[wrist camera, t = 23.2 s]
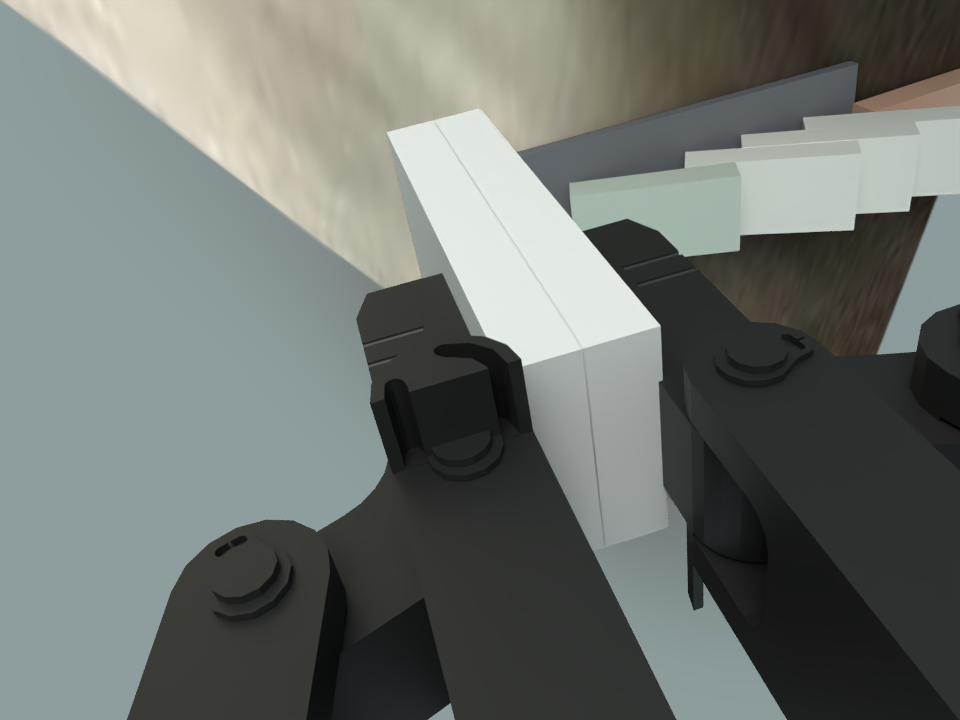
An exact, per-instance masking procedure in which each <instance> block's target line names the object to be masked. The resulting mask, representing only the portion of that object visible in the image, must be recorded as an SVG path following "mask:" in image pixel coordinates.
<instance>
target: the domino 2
mask: <svg viewBox="0 0 960 720" xmlns="http://www.w3.org/2000/svg"><path fill="white" fill-rule="evenodd" d="M861 161H862V151H861V148H860V146H859V143H858V140H847V141H833V142H819V143H805V144H791V145H777V146H763V147H749V148H735V149H720V150H706V151H692V152H685V168H692V167H700V166H707V165H715V164H723V163H731V162H735V163H736V165H737V168H738V170H739V172H740V174H741V208H740V235H753V234H776V233H799V232H822V231H845V230H854V224H855V215H856V206H857V197H858V188H859V179H860V170H861Z"/></svg>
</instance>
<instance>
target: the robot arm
mask: <svg viewBox="0 0 960 720" xmlns="http://www.w3.org/2000/svg"><path fill="white" fill-rule="evenodd" d="M386 133H387V137H388V141H389V145H390V149H391V153H392V157H393V162H394V166H395V170H396V174H397V178H398V182H399V186H400V190H401V195H402V199H403V203H404V207H405V211H406V215H407V219H408V224H409V228H410V232H411V236H412V240H413V244H414V248H415V252H416V257H417V261H418V265H419V269H420V273H421V277H422V279H418V280H415V281H411V282H408V283H404V284H400V285H397V286H393V287H390V288H386V289H382V290H379V291H375V292H372V293H368V294H367V295H366V297H365V300H364V302H363V304H362V307H361V309H360V311H359V314H358V316H357V319H356V320H357V324H358V328H359V332H360V335H361V340H362V344H363V347H364V351H365V355H366V359H367V363H368V367H369V371H370V375H371V379H372V385H371V398H370V405H371V408H372V411H373V414H374V417H375V420H376V424H377V427H378V430H379V433H380V436H381V439H382V442H383V445H384V449H385V452H386V455H387V458H388V462H387V466H386V470H385V473H384V475H383V477H382V478H381V480H380V482H379V483H378V485H377V486H376V488H375V489H374V490H373V491H372V492H371V494H370V495H369V496H368V497H367V498H366V499H365V500H364V501H363V502H362V503H361V504H360V505H358V506H357V507H356V508H354V509H353V510H351V511H350V512H349V513H347V514H346V515H345V516H343V517H341V518H340V519H338V520H336V521H334V522H333V523H331V524H330V525H328V526H326V527H325V528H323V529H321V530H319V531H318V532H316V531H315V530H313V529H311V528H309V527H306V526H304V525H302V524H299V523H297V522H295V521H289V520H263V521H260V522H257V523H253V524H249V525H246V526H242V527H238V528H236V529H234V530H232V531H230V532H228V533H227V534H225V535H223V536H221V537H220V538H218V539H216V540H214V541H213V542H211V543H210V544H208V545H207V546H206V547H205V548H204V549H203V550H202V551H201V552H200V553H199V554H198V555H197V556H196V557H195V558H193V560H191V561H190V562H189V563H188V564H187V565H186V566H185V568H184V570H183V572H182V574H181V575H180V577H179V579H178V581H177V583H176V585H175V586H174V588H173V590H172V591H171V594H170V597H169V600H168V603H167V606H166V609H165V611H164V614H163V617H162V620H161V623H160V626H159V629H158V632H157V635H156V638H155V640H154V643H153V646H152V649H151V652H150V655H149V658H148V661H147V664H146V666H145V670H144V672H143V675H142V678H141V681H140V684H139V687H138V689H137V692H136V695H135V698H134V702H133V704H132V707H131V710H130V713H129V715H128V719H127V720H428V719H429V718H430V717H432V716H433V715H435V714H436V713H437V712H439V711H440V710H441V709H443V708H444V707H445V706H447V705H448V704H450V703H451V706H452V710H453V714H454V718H455V720H676V718H675V716H674V715H673V712H672V710H671V708H670V706H669V704H668V702H667V700H666V698H665V696H664V694H663V692H662V690H661V688H660V686H659V684H658V682H657V680H656V678H655V676H654V674H653V672H652V670H651V668H650V666H649V664H648V662H647V660H646V658H645V656H644V654H643V651H642V650H641V647H640V645H639V644H638V641H637V639H636V637H635V635H634V634H633V631H632V629H631V627H630V625H629V623H628V621H627V619H626V617H625V615H624V613H623V611H622V609H621V607H620V605H619V603H618V601H617V599H616V597H615V595H614V593H613V591H612V589H611V587H610V585H609V583H608V581H607V579H606V577H605V575H604V573H603V571H602V569H601V567H600V565H599V563H598V561H597V559H596V557H595V554H594V553H593V552H594V551H596V550H600V549H603V548H606V547H609V546H612V545H615V544H618V543H621V542H624V541H627V540H631V539H634V538H637V537H640V536H643V535H646V534H649V533H652V532H656V531H659V530H662V529H665V528H668V527H669V523H668V497H667V492H668V494H669V495H670V497H671V499H672V500H673V502H674V503H675V505H676V506H677V508H678V509H679V511H680V513H681V514H682V516H683V517H684V519H685V520H686V522H687V561H688V562H687V564H688V594H689V597H690V600H691V603H692V606H693V609H694V610H696V609H699V608H702V607H703V582H704V584H705V586H706V587H707V589H708V591H709V592H710V594H711V596H712V597H713V599H714V600H715V602H716V604H717V605H718V607H719V609H720V610H721V612H722V613H723V615H724V616H725V619H726V620H727V622H728V623H729V625H730V627H731V628H732V630H733V632H734V633H735V635H736V637H737V638H738V640H739V642H740V643H741V645H742V646H743V648H744V649H745V651H746V653H747V655H748V656H749V658H750V660H751V661H752V663H753V665H754V666H755V668H756V669H757V671H758V673H759V674H760V676H761V678H762V679H763V681H764V683H765V684H766V686H767V687H768V689H769V691H770V692H771V694H772V696H773V697H774V699H775V701H776V702H777V704H778V706H779V707H780V709H781V711H782V712H783V714H784V715H785V717H786V719H787V720H960V304H959V305H956V306H953V307H951V308H947V309H944V310H942V311H939V312H936V313H935V314H933V315H932V316H931V317H930V318H929V319H928V320H927V321H925V322H924V323H923V324H922V325H921V330H920V336H919V341H918V346H917V351H916V352H910V353H895V354H881V355H867V356H834V355H833V354H832V353H831V352H830V351H829V350H827V349H826V348H825V347H824V346H823V345H822V344H821V343H819V342H818V341H816V340H815V339H813V338H811V337H810V336H808V335H807V334H805V333H803V332H802V331H800V330H796V329H793V328H789V327H786V326H782V325H779V324H775V323H758V322H750V321H749V320H748V319H747V318H746V317H745V316H744V315H743V314H742V313H741V312H740V311H739V310H738V309H737V308H736V307H735V306H734V305H733V304H732V303H731V302H730V301H729V300H728V299H727V298H726V297H725V296H724V295H723V294H722V293H721V292H720V291H719V290H718V289H717V288H716V287H715V286H714V285H713V284H712V283H711V282H710V281H709V280H708V279H707V278H706V277H705V276H704V275H703V274H702V273H701V272H700V271H699V270H698V271H695V268H694V266H693V265H692V264H691V263H690V262H689V261H688V260H687V259H686V258H685V257H684V256H683V255H682V254H681V255H679V252H678V250H677V249H676V248H675V247H674V246H673V245H672V244H671V243H670V242H669V241H668V240H667V239H666V238H665V237H664V236H663V235H662V234H661V233H660V232H659V231H657V230H655V229H652V228H650V227H647V226H645V225H642V224H639V223H637V222H634V221H632V220H629V219H624V220H621V221H617V222H613V223H610V224H606V225H603V226H599V227H595V228H592V229H588V230H584V231H581V229H580V228H579V227H578V226H577V225H576V223H575V222H574V221H573V220H572V219H571V217H570V216H569V215H568V214H567V213H566V211H565V210H564V209H563V208H562V207H561V205H560V204H559V203H558V202H557V201H556V199H555V198H554V197H553V196H552V195H551V193H550V192H549V191H548V190H547V188H546V187H545V186H544V185H543V184H542V182H541V181H540V180H539V179H538V178H537V176H536V175H535V174H534V173H533V172H532V170H531V169H530V168H529V167H528V166H527V164H526V163H525V162H524V161H523V160H522V158H521V157H520V156H519V155H518V154H517V152H516V151H515V150H514V149H513V148H512V146H511V145H510V144H509V143H508V142H507V140H506V139H505V138H504V137H503V136H502V134H501V133H500V132H499V131H498V130H497V128H496V127H495V126H494V125H493V124H492V122H491V121H490V120H489V119H488V117H487V116H486V115H485V114H484V113H483V111H482V110H481V109H480V108H479V109H476V110H472V111H468V112H464V113H460V114H456V115H452V116H448V117H444V118H440V119H437V120H433V121H429V122H425V123H421V124H417V125H413V126H409V127H405V128H401V129H398V130H394V131H390V132H386Z"/></svg>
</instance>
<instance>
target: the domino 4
mask: <svg viewBox="0 0 960 720" xmlns="http://www.w3.org/2000/svg"><path fill="white" fill-rule="evenodd" d="M913 121H914V122H915V124H916V126H917V128H918V130H919V132H920V134H921V137H920V143H919V150H918V156H917V163H916V170H915V176H914V183H913V190H912V196H932V195H951V194H960V106H947V107H934V108H921V109H908V110H894V111H881V112H868V113H855V114H842V115H829V116H815V117H803V121H802V130H810V129H823V128H835V127H848V126H861V125H874V124H887V123H900V122H913ZM912 196H911V197H912Z"/></svg>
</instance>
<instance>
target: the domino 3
mask: <svg viewBox="0 0 960 720" xmlns="http://www.w3.org/2000/svg"><path fill="white" fill-rule="evenodd" d="M920 137H921V134H920V132H919V130H918V128H917V126H916V124H915V122H914V121H913V122H900V123H887V124H874V125H861V126H848V127H835V128H823V129H810V130H797V131H784V132H771V133H758V134H745V135H741V148H749V147H763V146H777V145H791V144H805V143H819V142H833V141H847V140H858V143H859V146H860V148H861V151H862V161H861V170H860V179H859V188H858V197H857V206H856V214H863V213H883V212H903V211H909V209H910V203H911V196H912V190H913V183H914V176H915V170H916V163H917V156H918V150H919V143H920Z"/></svg>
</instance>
